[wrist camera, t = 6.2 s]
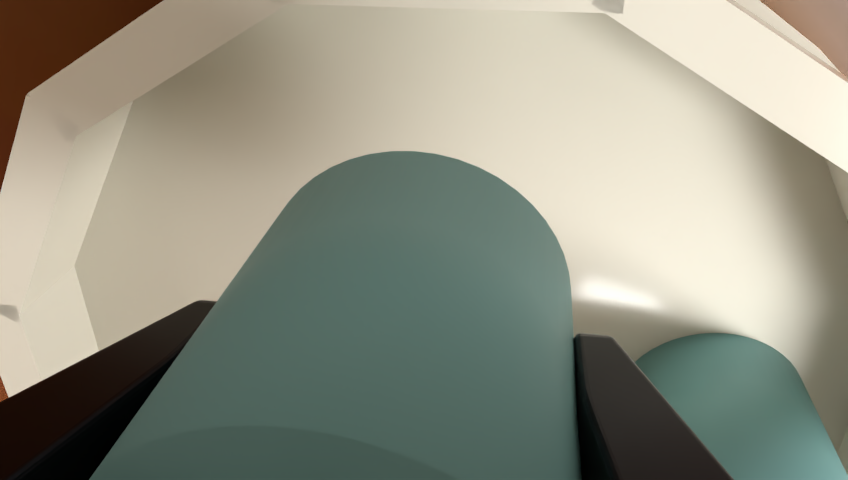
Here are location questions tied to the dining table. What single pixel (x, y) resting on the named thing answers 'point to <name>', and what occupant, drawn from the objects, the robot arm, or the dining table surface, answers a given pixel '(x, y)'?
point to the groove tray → (453, 137)
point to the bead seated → (744, 406)
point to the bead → (377, 342)
